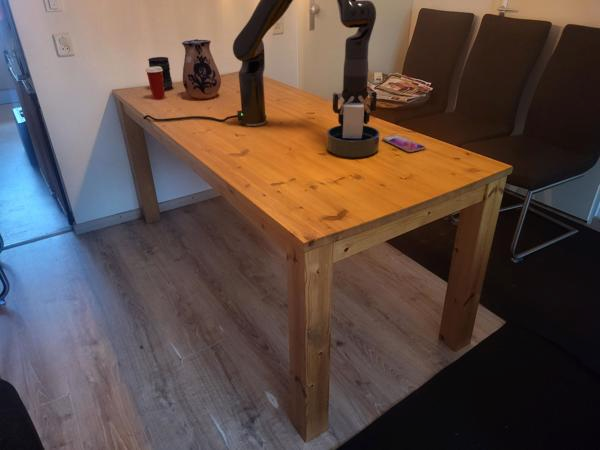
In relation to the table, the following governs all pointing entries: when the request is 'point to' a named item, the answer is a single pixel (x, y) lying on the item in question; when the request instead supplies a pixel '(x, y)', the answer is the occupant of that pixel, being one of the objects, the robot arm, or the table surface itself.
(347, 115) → the cosmetics box
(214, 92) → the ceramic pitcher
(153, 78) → the paper cup
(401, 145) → the smartphone
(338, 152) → the bowl
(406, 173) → the table surface
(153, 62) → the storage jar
